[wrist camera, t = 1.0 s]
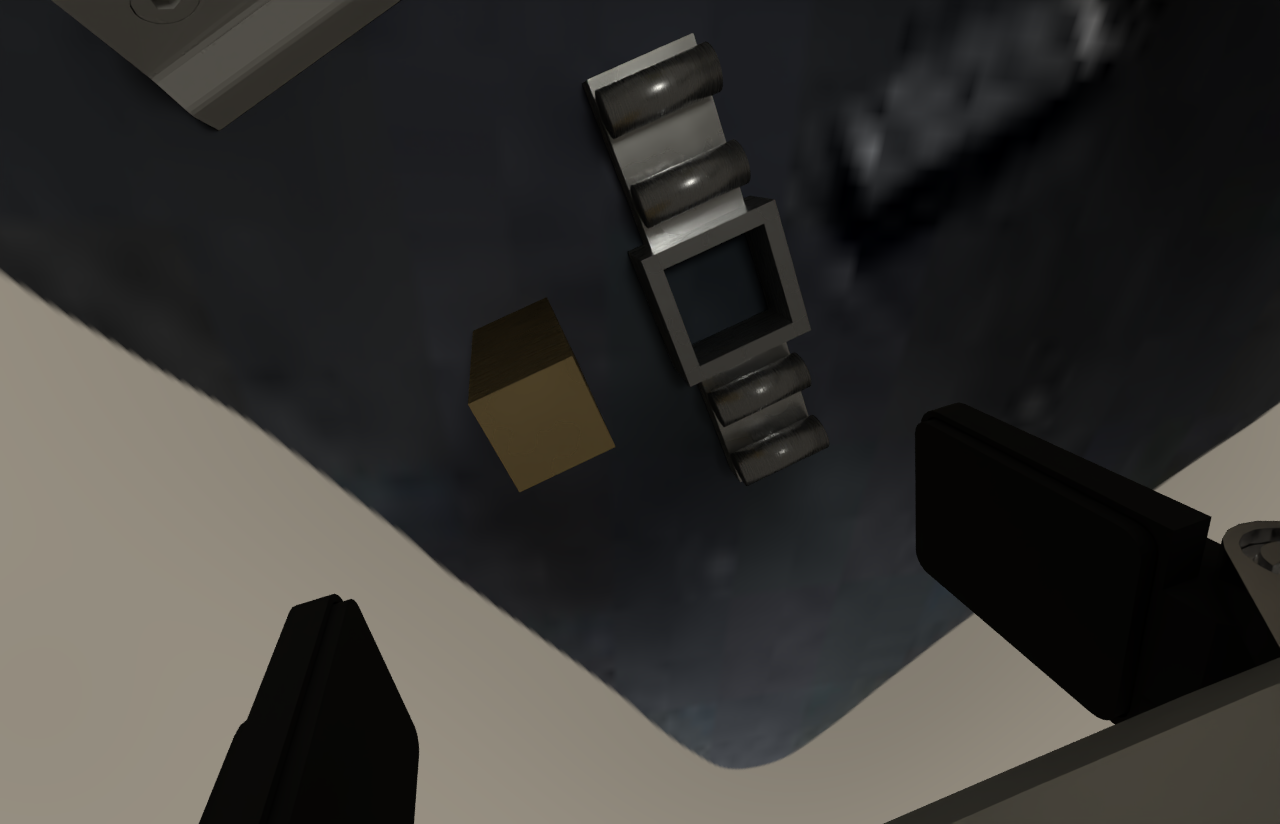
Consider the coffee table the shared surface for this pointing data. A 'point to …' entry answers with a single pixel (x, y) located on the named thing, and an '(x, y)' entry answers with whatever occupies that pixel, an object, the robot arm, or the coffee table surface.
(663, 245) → the grey segmented bar
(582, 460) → the brown rectangular block
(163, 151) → the coffee table surface
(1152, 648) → the robot arm
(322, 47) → the grey curved slotted block
